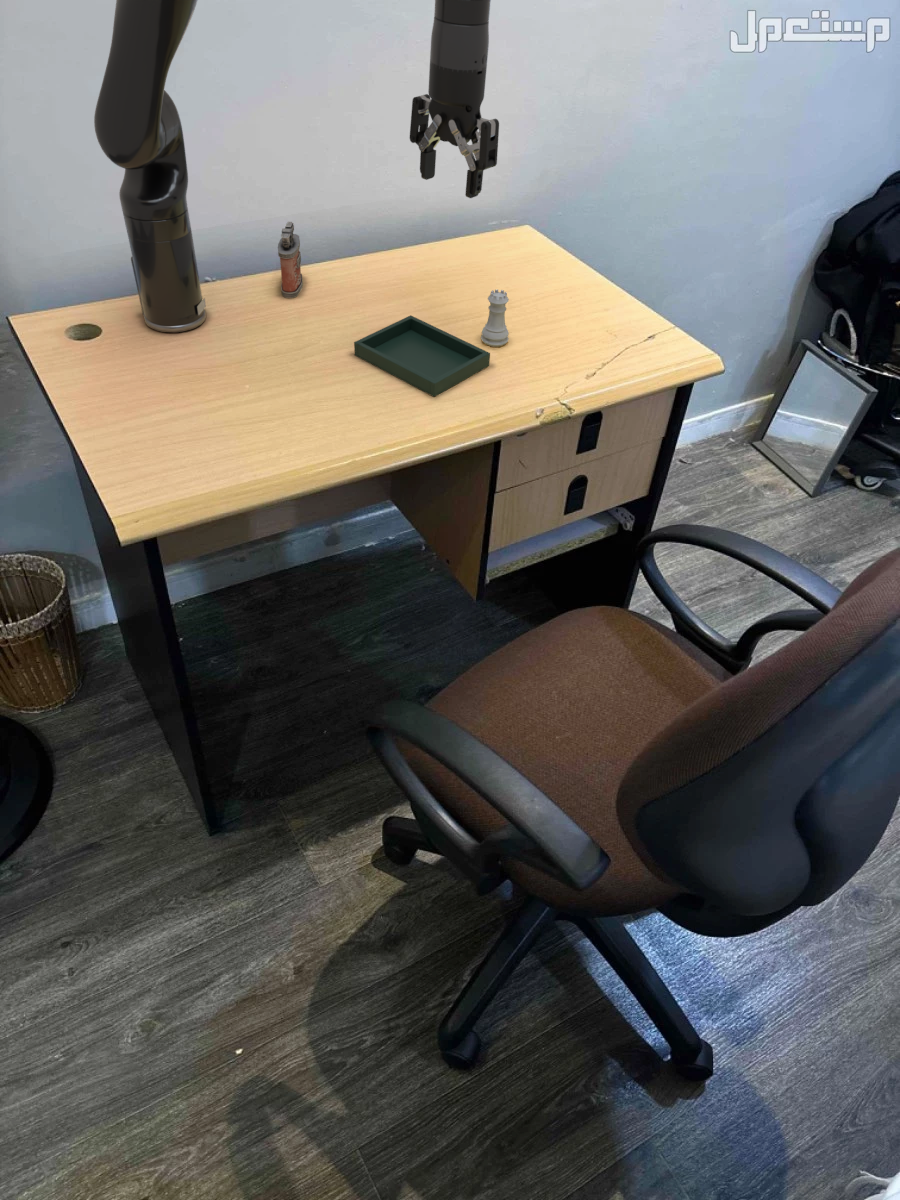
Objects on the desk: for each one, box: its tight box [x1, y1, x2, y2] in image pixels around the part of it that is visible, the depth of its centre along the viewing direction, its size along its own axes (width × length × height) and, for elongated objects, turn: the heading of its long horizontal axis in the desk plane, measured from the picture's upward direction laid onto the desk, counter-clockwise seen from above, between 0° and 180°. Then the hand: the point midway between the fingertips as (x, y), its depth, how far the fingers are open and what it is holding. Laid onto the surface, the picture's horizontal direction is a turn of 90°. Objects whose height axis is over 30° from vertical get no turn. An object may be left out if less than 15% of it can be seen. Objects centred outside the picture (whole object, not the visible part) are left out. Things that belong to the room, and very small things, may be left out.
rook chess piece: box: [480, 289, 510, 348], centre depth 137 cm, size 4×4×8 cm
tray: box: [353, 315, 491, 398], centre depth 134 cm, size 17×13×2 cm
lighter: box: [277, 221, 304, 299], centre depth 146 cm, size 8×3×10 cm, turn 179°
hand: (449, 187), depth 126 cm, fingers open, 8 cm apart
